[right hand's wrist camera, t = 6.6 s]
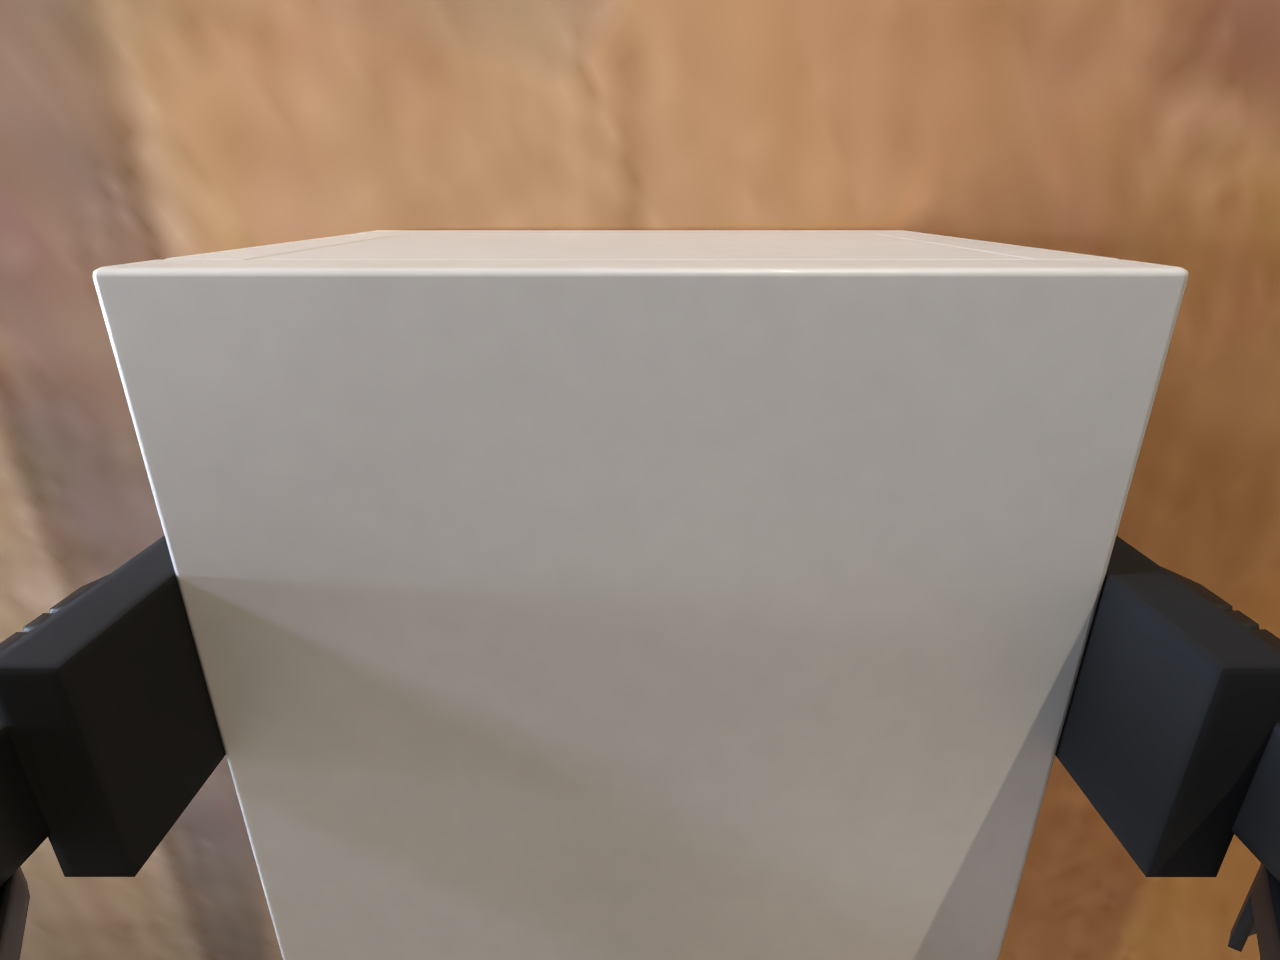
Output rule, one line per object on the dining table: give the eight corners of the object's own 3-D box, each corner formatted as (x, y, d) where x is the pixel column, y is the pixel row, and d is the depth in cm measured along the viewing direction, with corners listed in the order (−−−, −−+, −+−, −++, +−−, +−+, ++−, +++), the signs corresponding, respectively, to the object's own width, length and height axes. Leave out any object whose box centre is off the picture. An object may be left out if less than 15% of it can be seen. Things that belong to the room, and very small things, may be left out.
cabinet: (820, 876, 21) (919, 1251, 14) (461, 876, 21) (361, 1250, 14) (905, 230, 15) (1195, 268, 7) (375, 230, 15) (85, 268, 7)
